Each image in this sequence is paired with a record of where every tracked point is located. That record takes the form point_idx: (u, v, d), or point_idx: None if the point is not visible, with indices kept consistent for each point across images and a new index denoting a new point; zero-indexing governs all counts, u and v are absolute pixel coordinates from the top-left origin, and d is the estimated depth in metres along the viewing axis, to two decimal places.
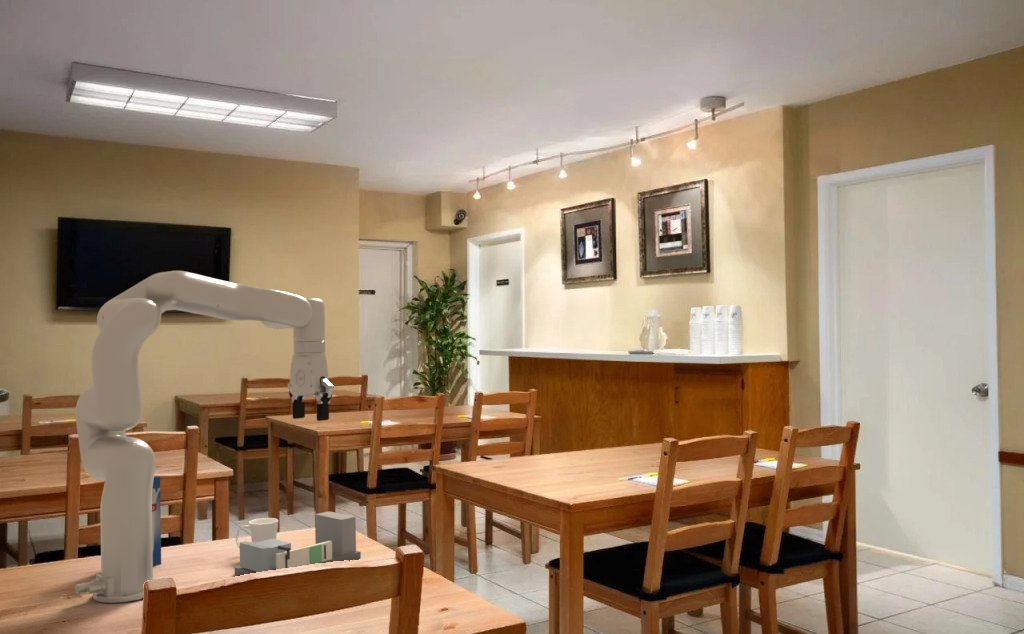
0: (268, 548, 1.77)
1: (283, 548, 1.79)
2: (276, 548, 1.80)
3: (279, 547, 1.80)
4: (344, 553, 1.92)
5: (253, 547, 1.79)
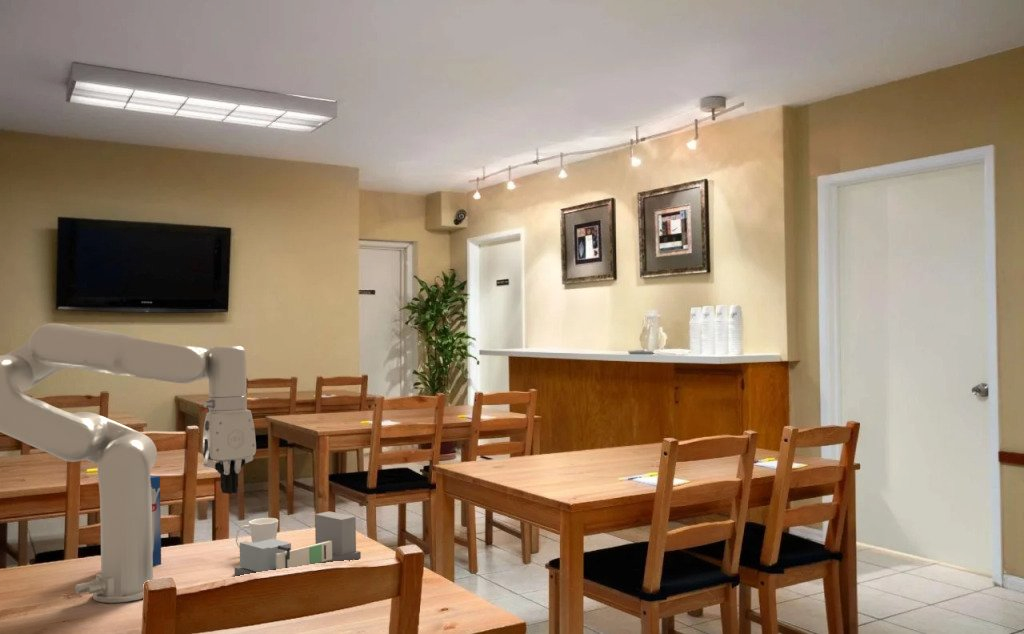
0: (268, 548, 1.77)
1: (283, 548, 1.79)
2: (276, 548, 1.80)
3: (279, 547, 1.80)
4: (344, 553, 1.92)
5: (253, 547, 1.79)
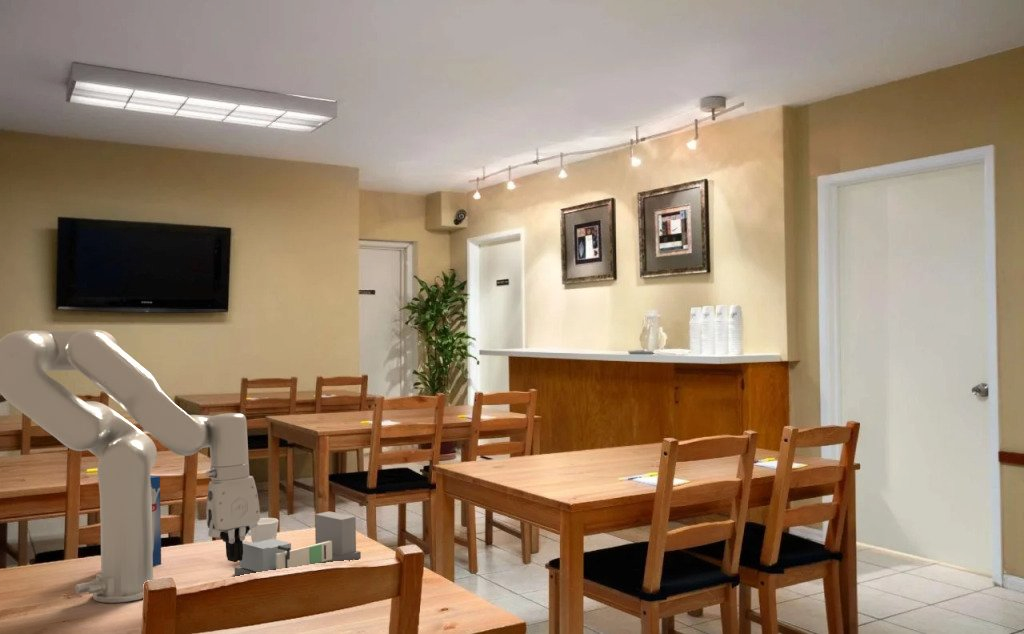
0: (268, 548, 1.77)
1: (283, 548, 1.79)
2: (276, 548, 1.80)
3: (279, 547, 1.80)
4: (344, 553, 1.92)
5: (253, 547, 1.79)
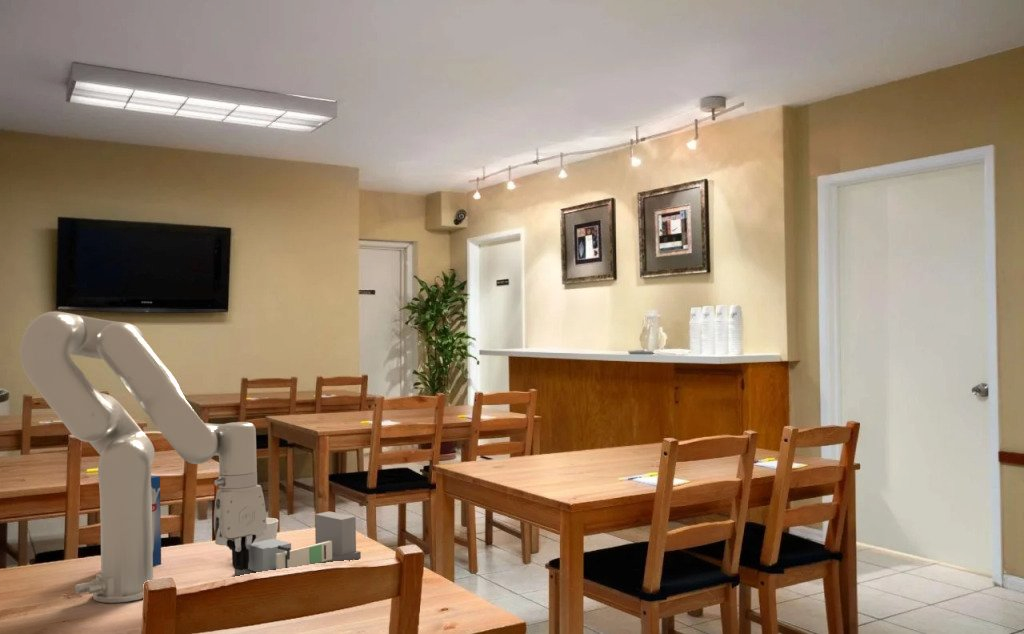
0: (268, 548, 1.77)
1: (283, 548, 1.79)
2: (276, 548, 1.80)
3: (279, 547, 1.80)
4: (344, 553, 1.92)
5: (253, 547, 1.79)
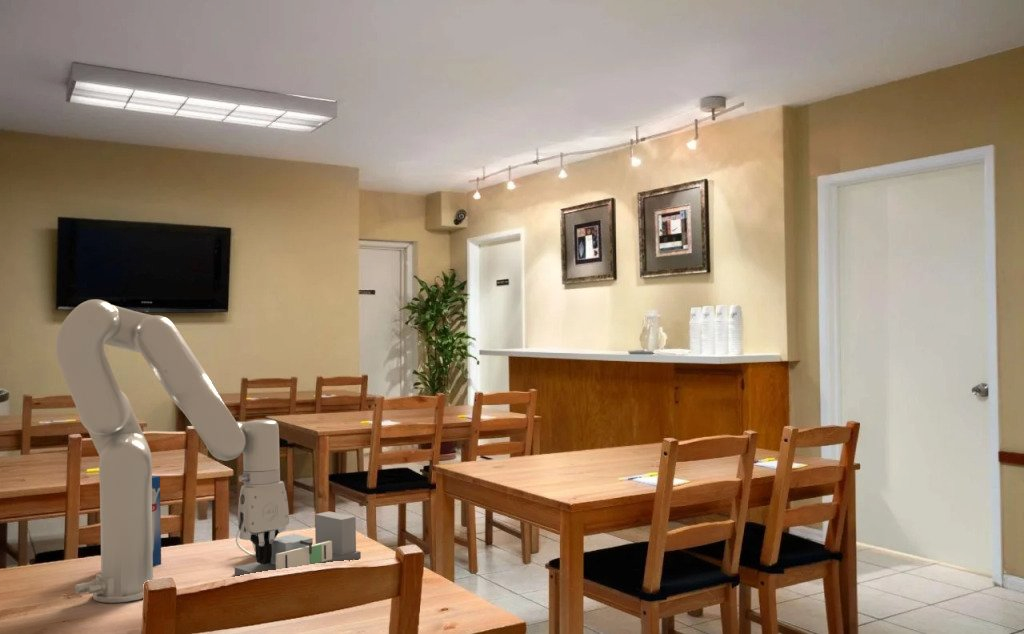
0: (291, 543, 1.82)
1: (305, 543, 1.83)
2: (298, 543, 1.84)
3: (301, 542, 1.84)
4: (344, 553, 1.92)
5: (276, 542, 1.83)
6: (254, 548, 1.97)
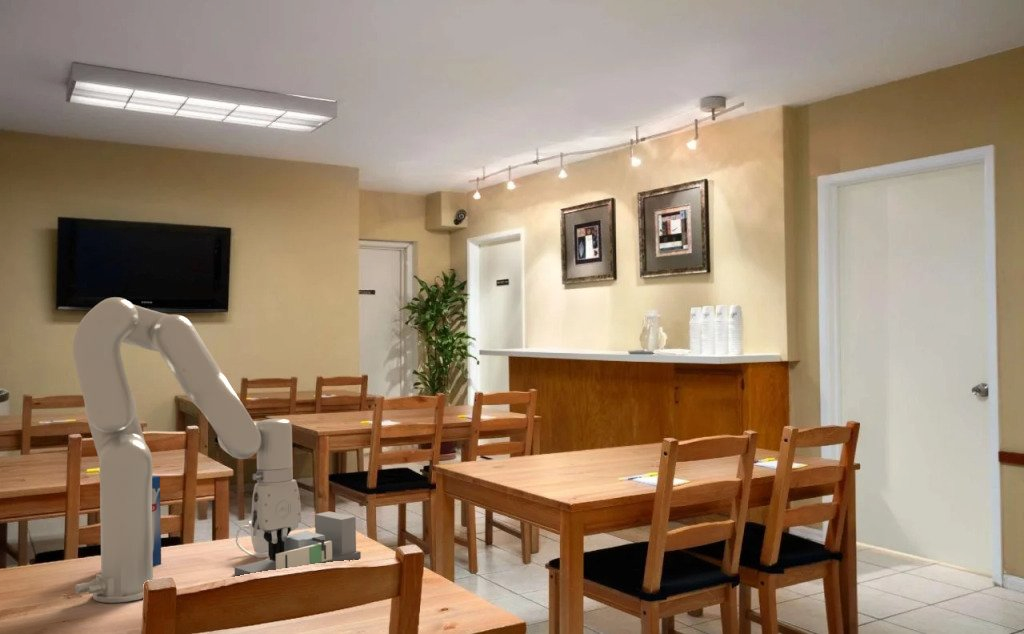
0: (303, 540, 1.84)
1: (318, 540, 1.86)
2: (311, 540, 1.87)
3: (314, 539, 1.87)
4: (344, 553, 1.92)
5: (289, 539, 1.85)
6: (254, 548, 1.97)
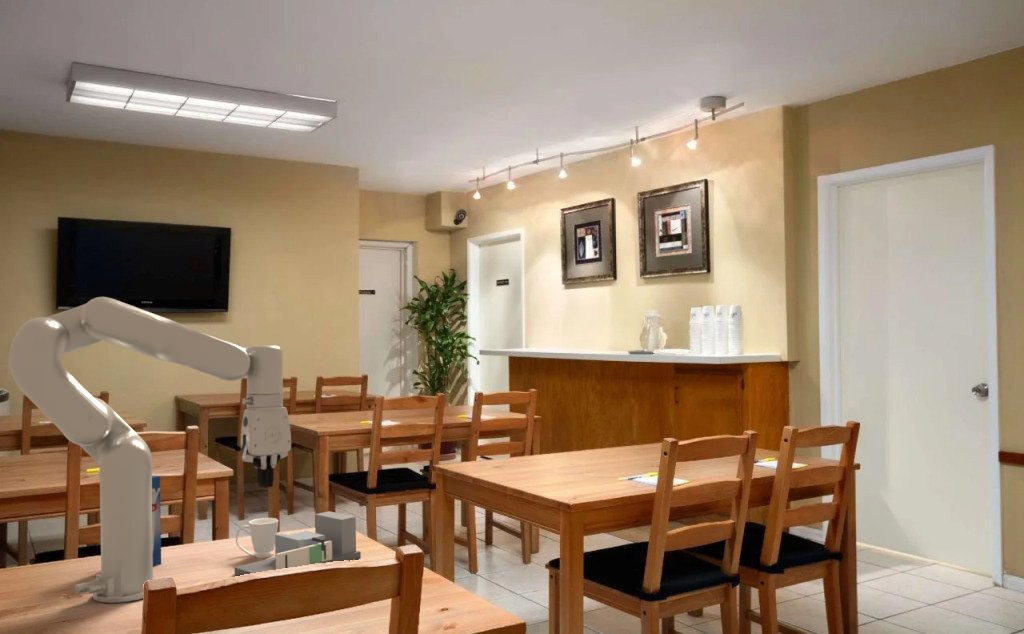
0: (303, 540, 1.84)
1: (318, 540, 1.86)
2: (311, 540, 1.87)
3: (314, 539, 1.87)
4: (344, 553, 1.92)
5: (289, 539, 1.85)
6: (254, 548, 1.97)
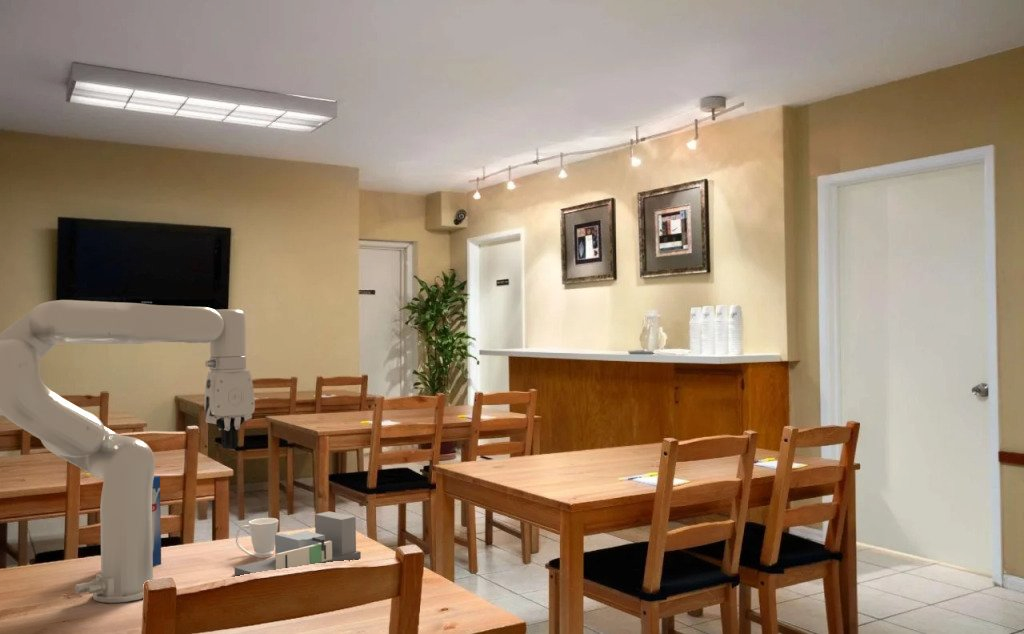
0: (303, 540, 1.84)
1: (318, 540, 1.86)
2: (311, 540, 1.87)
3: (314, 539, 1.87)
4: (344, 553, 1.92)
5: (289, 539, 1.85)
6: (254, 548, 1.97)
